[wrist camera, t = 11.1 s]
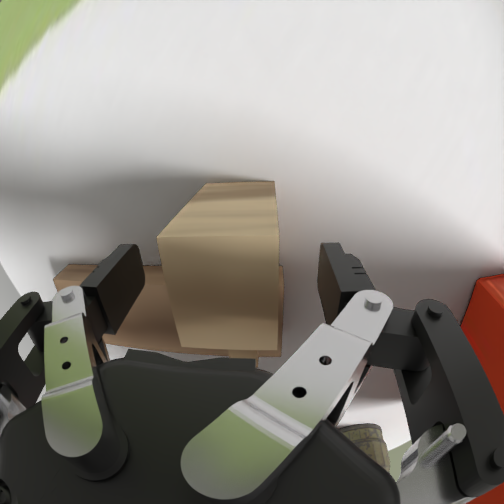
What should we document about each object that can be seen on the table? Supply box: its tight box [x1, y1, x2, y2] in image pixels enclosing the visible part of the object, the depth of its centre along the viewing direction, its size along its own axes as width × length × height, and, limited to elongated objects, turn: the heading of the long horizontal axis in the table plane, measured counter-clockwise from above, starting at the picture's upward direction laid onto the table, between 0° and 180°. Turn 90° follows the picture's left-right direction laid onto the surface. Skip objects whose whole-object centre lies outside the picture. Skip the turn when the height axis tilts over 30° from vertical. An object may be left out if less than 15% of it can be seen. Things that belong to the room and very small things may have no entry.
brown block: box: [53, 264, 284, 357], centre depth 19 cm, size 6×17×2 cm, turn 92°
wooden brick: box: [156, 181, 279, 367], centre depth 15 cm, size 11×4×8 cm, turn 2°
